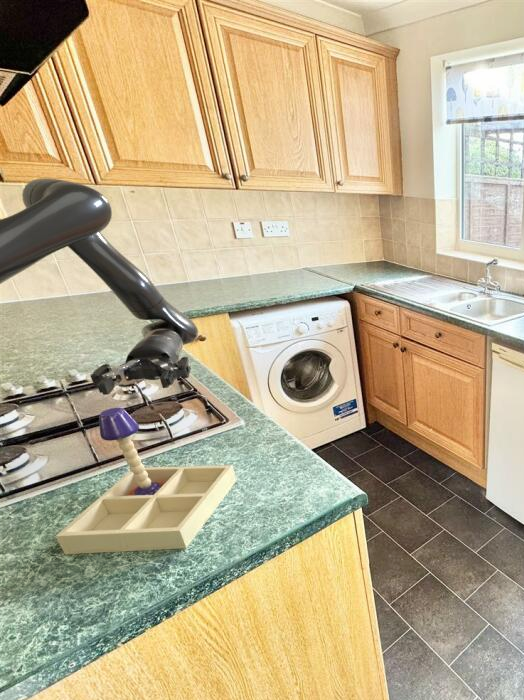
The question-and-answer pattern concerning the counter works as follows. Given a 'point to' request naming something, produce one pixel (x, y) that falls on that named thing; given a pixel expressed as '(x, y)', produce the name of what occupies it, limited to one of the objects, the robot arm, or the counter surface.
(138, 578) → the counter surface
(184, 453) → the counter surface
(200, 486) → the grid
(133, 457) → the toy lamp
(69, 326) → the counter surface
